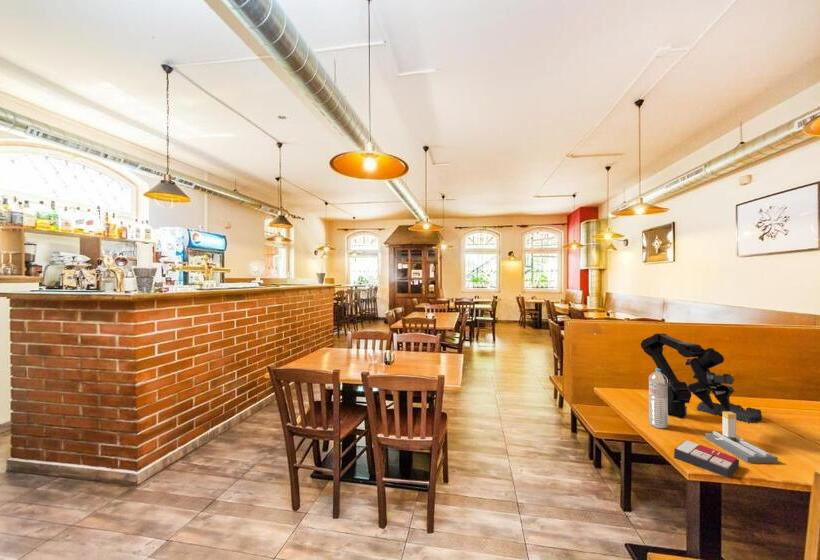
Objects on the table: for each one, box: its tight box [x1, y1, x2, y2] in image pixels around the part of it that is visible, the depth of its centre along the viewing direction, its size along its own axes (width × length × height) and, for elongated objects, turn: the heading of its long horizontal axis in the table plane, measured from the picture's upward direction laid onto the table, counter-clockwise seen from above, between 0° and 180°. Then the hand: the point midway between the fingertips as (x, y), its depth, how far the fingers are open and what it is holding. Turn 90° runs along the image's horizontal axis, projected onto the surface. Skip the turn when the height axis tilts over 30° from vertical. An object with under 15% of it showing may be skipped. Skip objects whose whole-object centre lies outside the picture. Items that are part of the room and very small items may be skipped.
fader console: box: [704, 430, 779, 464], centre depth 127 cm, size 18×10×3 cm, turn 177°
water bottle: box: [648, 367, 669, 430], centre depth 148 cm, size 7×7×25 cm
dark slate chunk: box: [696, 400, 763, 424], centre depth 161 cm, size 15×22×5 cm
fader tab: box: [721, 412, 737, 440], centre depth 131 cm, size 3×3×10 cm
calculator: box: [673, 440, 740, 478], centre depth 119 cm, size 11×4×15 cm
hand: (721, 410), depth 136 cm, fingers open, 9 cm apart
